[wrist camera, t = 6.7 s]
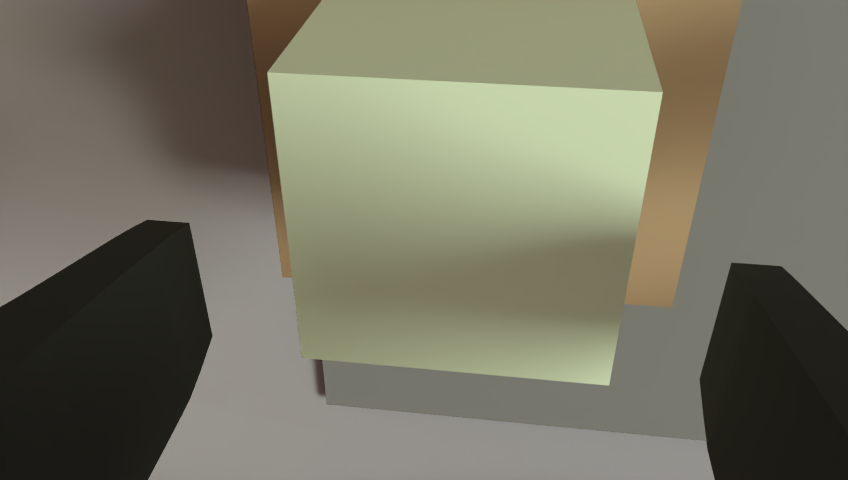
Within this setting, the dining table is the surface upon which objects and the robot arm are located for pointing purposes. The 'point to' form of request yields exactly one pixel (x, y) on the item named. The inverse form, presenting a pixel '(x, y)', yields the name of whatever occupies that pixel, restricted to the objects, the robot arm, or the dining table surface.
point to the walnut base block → (674, 138)
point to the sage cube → (465, 181)
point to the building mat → (694, 243)
